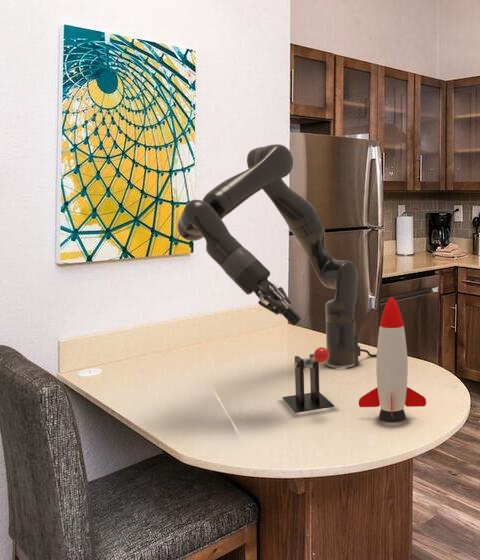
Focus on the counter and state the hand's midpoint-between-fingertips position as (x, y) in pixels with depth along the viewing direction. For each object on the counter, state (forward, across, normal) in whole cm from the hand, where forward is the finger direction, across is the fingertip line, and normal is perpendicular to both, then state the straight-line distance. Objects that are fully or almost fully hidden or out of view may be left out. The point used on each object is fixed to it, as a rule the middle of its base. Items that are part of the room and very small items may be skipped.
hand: (297, 322), depth 145 cm
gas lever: (+10, +4, +6) cm, 13 cm away
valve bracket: (+16, +10, +18) cm, 26 cm away
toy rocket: (+33, +2, +2) cm, 33 cm away
